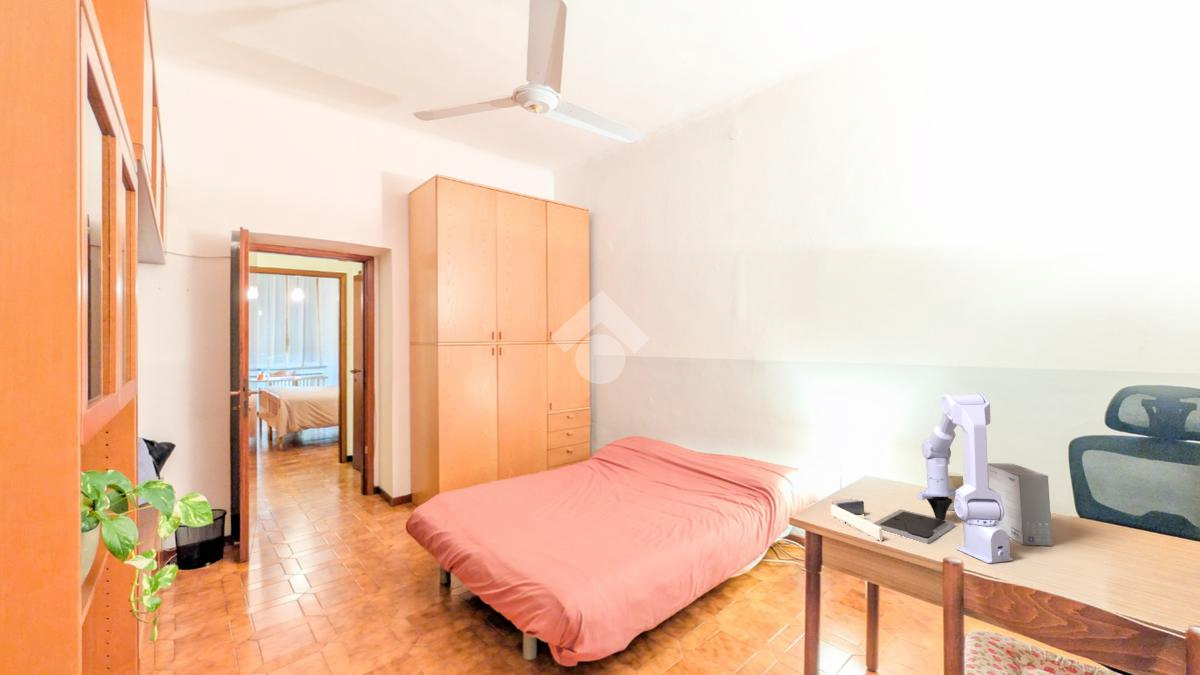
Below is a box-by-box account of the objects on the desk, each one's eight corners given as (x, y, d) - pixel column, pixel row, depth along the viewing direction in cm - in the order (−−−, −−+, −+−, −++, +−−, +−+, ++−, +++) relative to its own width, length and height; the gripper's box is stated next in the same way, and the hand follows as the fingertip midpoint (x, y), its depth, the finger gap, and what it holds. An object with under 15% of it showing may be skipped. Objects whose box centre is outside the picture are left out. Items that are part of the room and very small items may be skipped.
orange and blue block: (860, 515, 161) (859, 500, 161) (837, 518, 160) (837, 503, 160) (852, 511, 165) (852, 497, 165) (831, 514, 163) (830, 500, 163)
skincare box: (944, 510, 163) (941, 474, 163) (939, 505, 167) (937, 471, 167) (965, 511, 161) (963, 475, 161) (960, 507, 165) (958, 472, 166)
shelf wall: (882, 541, 140) (881, 527, 140) (879, 541, 140) (879, 528, 140) (833, 516, 162) (833, 504, 162) (831, 516, 161) (830, 504, 161)
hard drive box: (1054, 547, 132) (1049, 476, 132) (1022, 545, 133) (1018, 475, 134) (1017, 526, 147) (1013, 462, 148) (989, 525, 149) (985, 462, 149)
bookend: (869, 518, 158) (868, 503, 158) (843, 521, 156) (843, 506, 157) (862, 515, 161) (861, 500, 161) (837, 518, 160) (836, 503, 160)
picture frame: (928, 546, 137) (954, 528, 149) (927, 536, 137) (954, 519, 149) (871, 530, 150) (900, 515, 162) (871, 521, 150) (900, 507, 162)
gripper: (945, 472, 157) (948, 513, 157) (908, 476, 155) (910, 517, 154) (965, 478, 150) (968, 520, 150) (926, 482, 148) (929, 525, 147)
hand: (940, 519), depth 152 cm, fingers closed
